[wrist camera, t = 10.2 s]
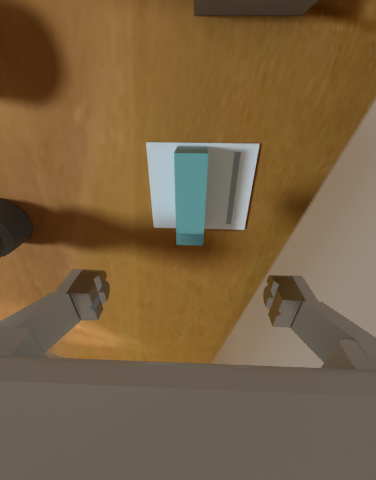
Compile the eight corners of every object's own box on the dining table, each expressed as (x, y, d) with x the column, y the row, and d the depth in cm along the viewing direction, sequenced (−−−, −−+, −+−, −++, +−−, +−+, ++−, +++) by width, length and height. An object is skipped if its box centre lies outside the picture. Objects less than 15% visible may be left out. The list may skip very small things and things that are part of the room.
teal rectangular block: (177, 145, 20) (174, 153, 17) (206, 146, 20) (208, 153, 17) (179, 226, 25) (176, 244, 22) (202, 227, 25) (203, 245, 22)
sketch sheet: (146, 141, 20) (146, 142, 20) (258, 143, 20) (259, 143, 20) (154, 226, 26) (153, 227, 25) (243, 228, 25) (244, 229, 25)
